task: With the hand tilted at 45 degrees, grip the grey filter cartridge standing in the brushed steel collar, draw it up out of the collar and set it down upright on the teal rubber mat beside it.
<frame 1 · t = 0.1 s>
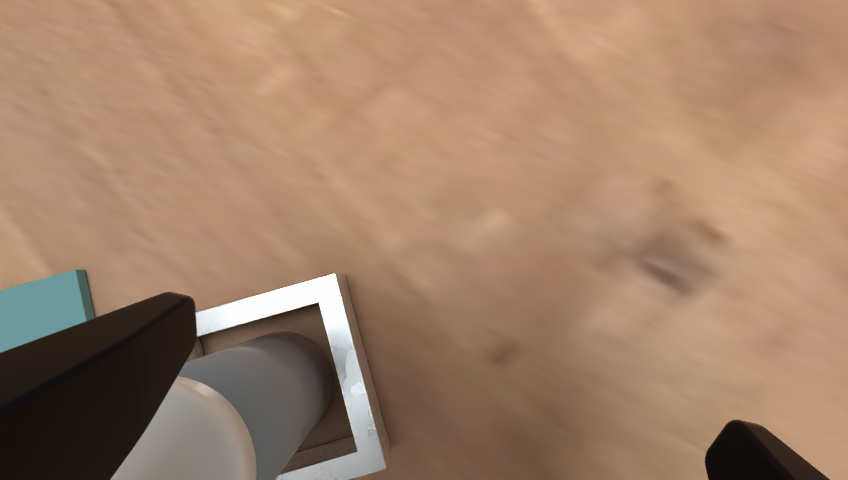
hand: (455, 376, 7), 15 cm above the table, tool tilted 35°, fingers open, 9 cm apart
cartridge: (232, 420, 16), in the collar
collar: (281, 384, 22), on the table
mat: (7, 419, 22), on the table
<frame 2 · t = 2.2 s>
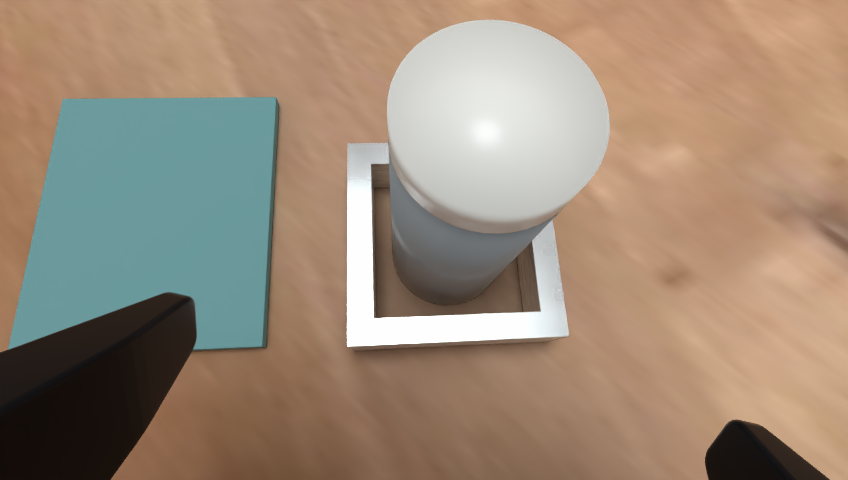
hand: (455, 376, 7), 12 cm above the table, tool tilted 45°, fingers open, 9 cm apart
cartridge: (463, 205, 16), in the collar
collar: (446, 251, 21), on the table
mat: (162, 218, 21), on the table
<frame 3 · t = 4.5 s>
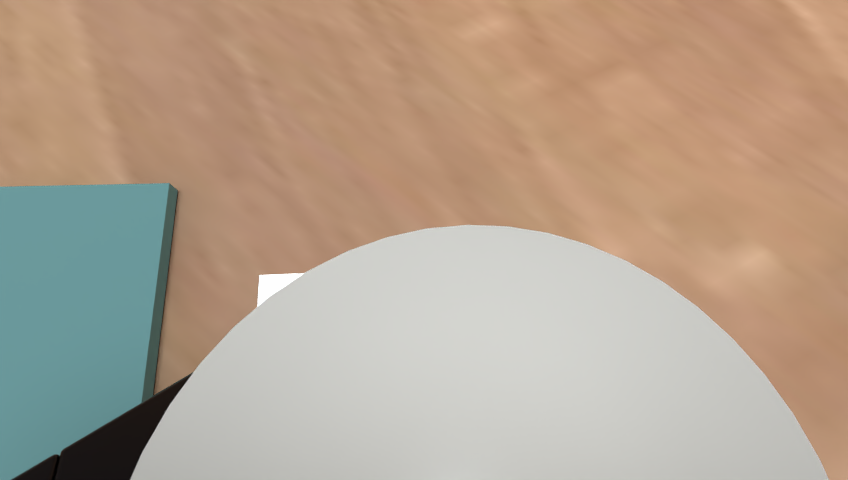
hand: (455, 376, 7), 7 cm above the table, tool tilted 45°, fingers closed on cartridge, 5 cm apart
cartridge: (431, 453, 8), in the collar, touching gripper
collar: (418, 425, 14), on the table
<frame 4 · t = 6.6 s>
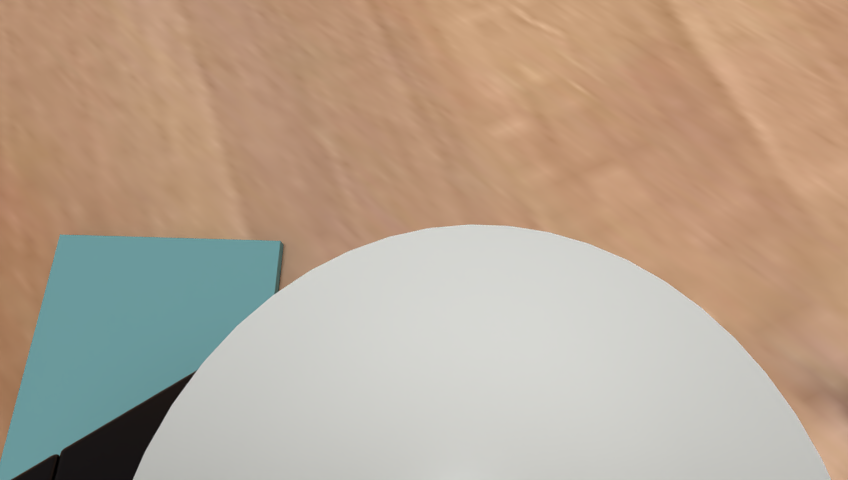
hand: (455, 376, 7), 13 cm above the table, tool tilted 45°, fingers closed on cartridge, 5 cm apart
cartridge: (432, 453, 8), point 12 cm above the table, touching gripper
mat: (153, 372, 20), on the table
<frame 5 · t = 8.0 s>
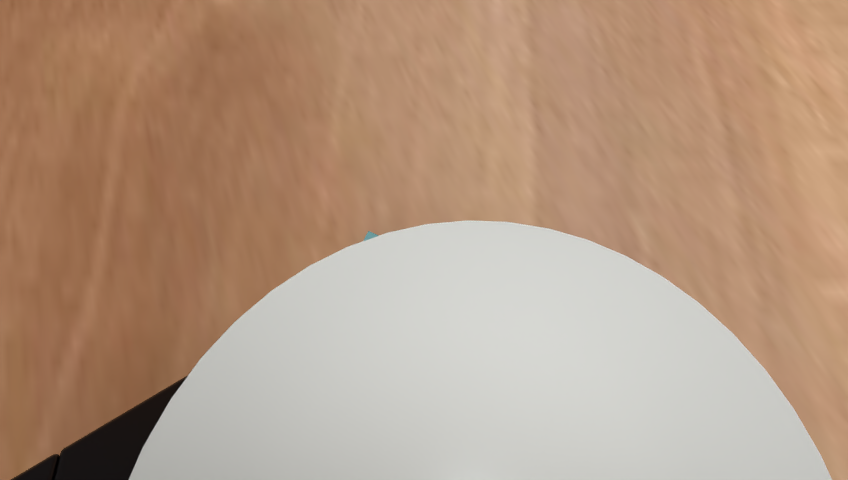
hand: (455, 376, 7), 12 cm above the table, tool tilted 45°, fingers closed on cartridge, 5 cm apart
cartridge: (432, 451, 8), point 11 cm above the table, touching gripper
when the fingers open (9 cm above the table, at t = 9.0 s): cartridge drops 1 cm, resting on mat.
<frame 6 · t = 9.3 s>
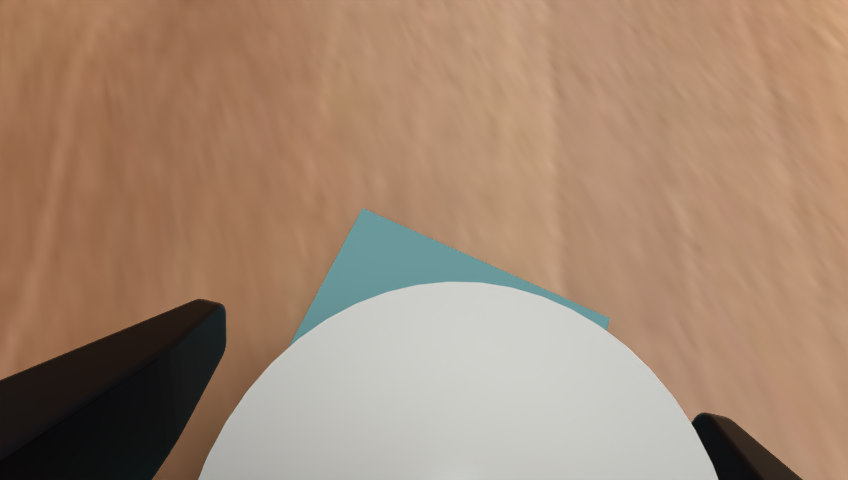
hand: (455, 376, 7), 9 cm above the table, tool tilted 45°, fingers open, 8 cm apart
cartridge: (426, 451, 9), on the mat, point 6 cm above the table
mat: (416, 418, 16), on the table
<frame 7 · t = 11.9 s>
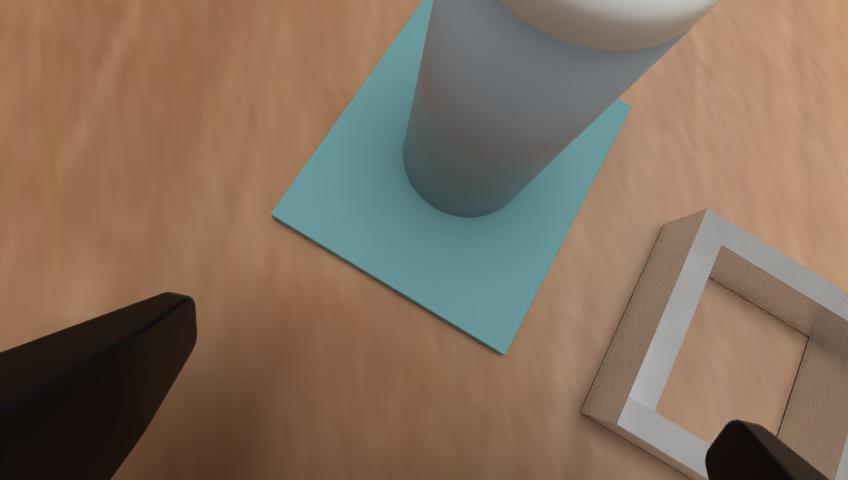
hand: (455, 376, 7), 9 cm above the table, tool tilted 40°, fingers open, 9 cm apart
cartridge: (511, 73, 12), on the mat, point 6 cm above the table
collar: (716, 367, 18), on the table
mat: (462, 161, 19), on the table
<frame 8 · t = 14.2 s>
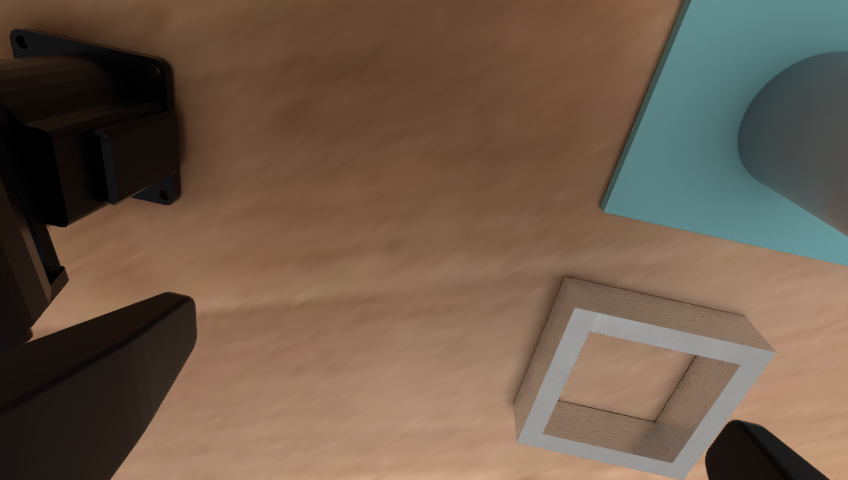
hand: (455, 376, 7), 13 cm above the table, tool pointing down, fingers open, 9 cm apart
collar: (619, 364, 23), on the table
mat: (804, 121, 17), on the table
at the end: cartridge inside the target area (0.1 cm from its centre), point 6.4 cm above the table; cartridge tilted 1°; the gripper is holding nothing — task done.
